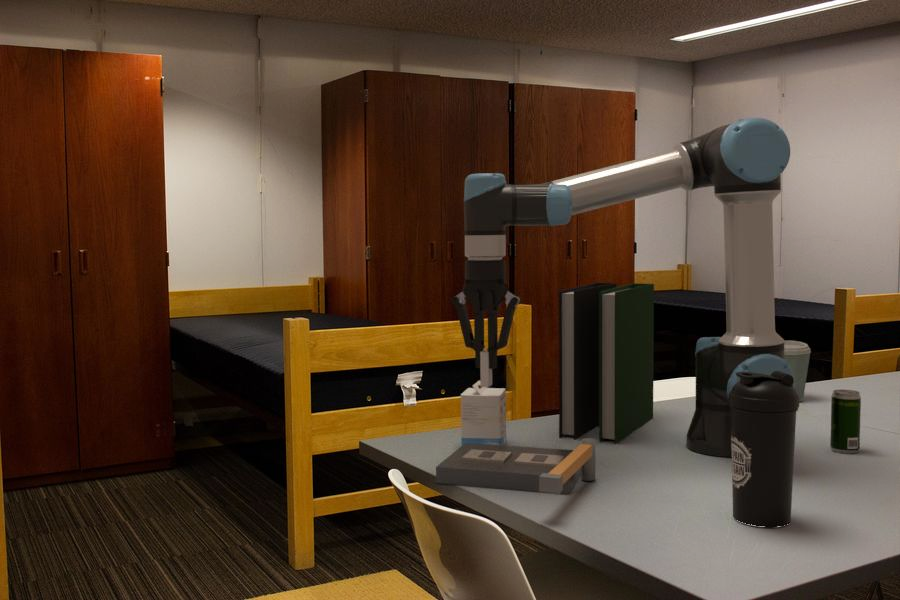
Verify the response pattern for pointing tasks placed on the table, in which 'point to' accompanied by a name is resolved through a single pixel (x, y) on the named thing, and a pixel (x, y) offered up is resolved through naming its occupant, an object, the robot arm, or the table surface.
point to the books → (606, 359)
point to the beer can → (845, 421)
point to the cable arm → (570, 468)
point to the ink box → (483, 415)
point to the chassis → (502, 467)
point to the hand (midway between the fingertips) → (486, 385)
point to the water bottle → (763, 447)
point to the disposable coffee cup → (798, 363)
